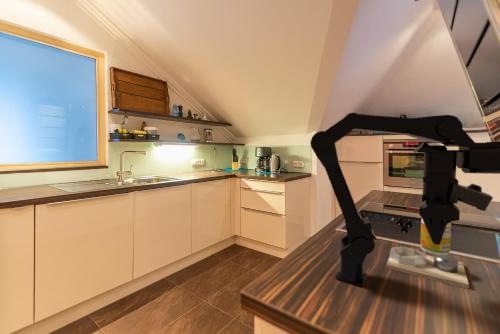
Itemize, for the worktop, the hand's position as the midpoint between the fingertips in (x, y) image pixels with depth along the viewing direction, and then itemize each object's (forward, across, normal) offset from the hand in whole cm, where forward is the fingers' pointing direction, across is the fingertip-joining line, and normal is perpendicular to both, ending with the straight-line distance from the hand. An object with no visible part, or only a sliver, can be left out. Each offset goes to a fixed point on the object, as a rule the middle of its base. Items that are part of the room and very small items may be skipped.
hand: (436, 240), depth 54 cm
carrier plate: (+12, +13, +2) cm, 18 cm away
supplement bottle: (+3, 0, 0) cm, 3 cm away
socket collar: (+12, +13, +6) cm, 19 cm away
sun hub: (+12, +13, -2) cm, 18 cm away
